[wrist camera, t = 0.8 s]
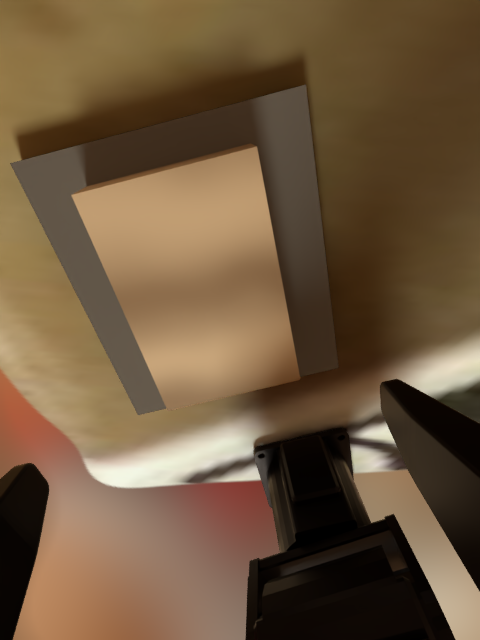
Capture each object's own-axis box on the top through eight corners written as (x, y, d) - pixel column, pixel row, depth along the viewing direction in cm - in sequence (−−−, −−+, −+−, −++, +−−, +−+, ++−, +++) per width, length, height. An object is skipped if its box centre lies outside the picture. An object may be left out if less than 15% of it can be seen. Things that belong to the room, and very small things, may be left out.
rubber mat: (333, 357, 22) (338, 367, 21) (140, 403, 22) (138, 415, 21) (299, 86, 15) (305, 84, 14) (21, 160, 15) (10, 163, 14)
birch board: (292, 357, 20) (300, 379, 18) (171, 386, 20) (167, 411, 19) (250, 143, 15) (256, 146, 13) (86, 186, 15) (71, 194, 13)
